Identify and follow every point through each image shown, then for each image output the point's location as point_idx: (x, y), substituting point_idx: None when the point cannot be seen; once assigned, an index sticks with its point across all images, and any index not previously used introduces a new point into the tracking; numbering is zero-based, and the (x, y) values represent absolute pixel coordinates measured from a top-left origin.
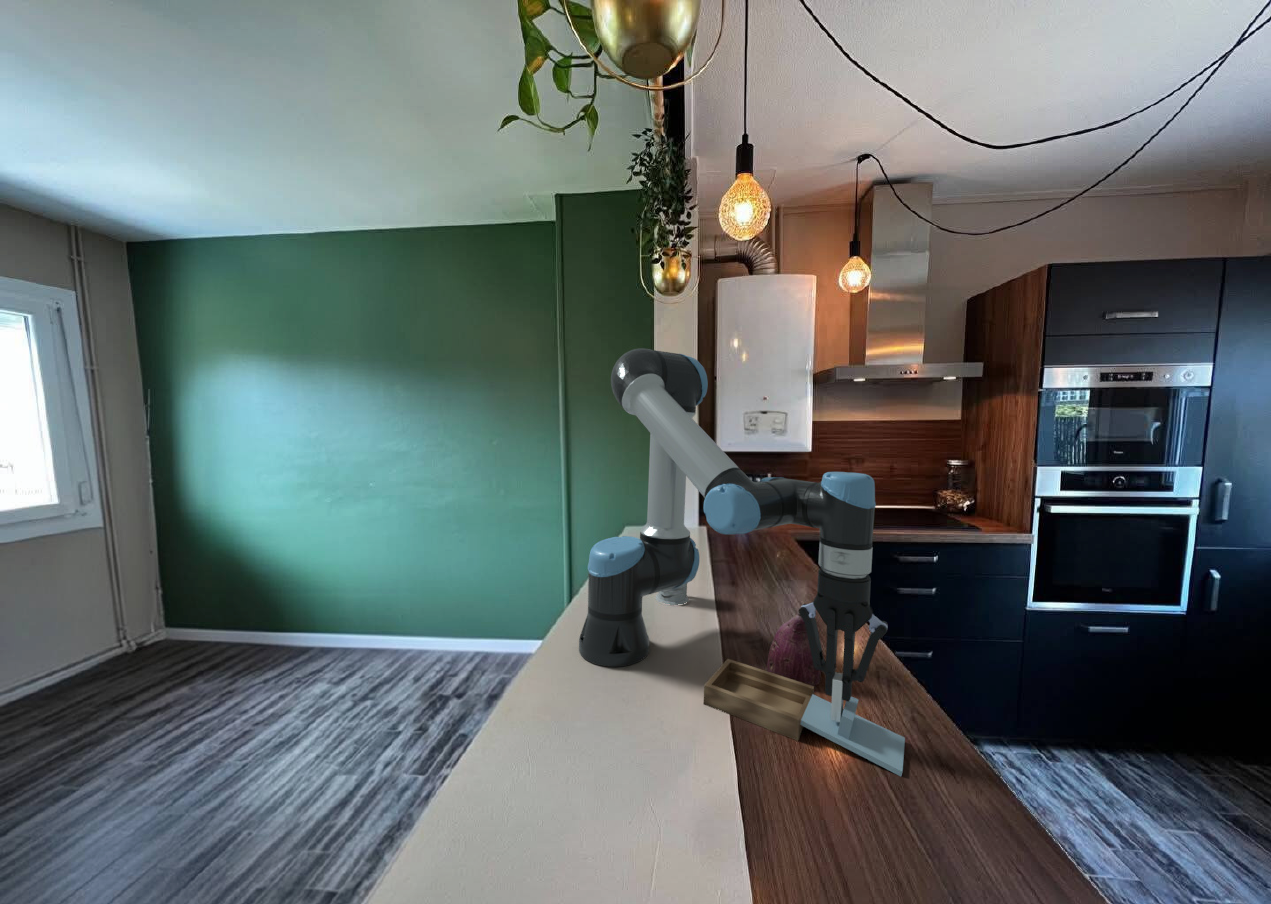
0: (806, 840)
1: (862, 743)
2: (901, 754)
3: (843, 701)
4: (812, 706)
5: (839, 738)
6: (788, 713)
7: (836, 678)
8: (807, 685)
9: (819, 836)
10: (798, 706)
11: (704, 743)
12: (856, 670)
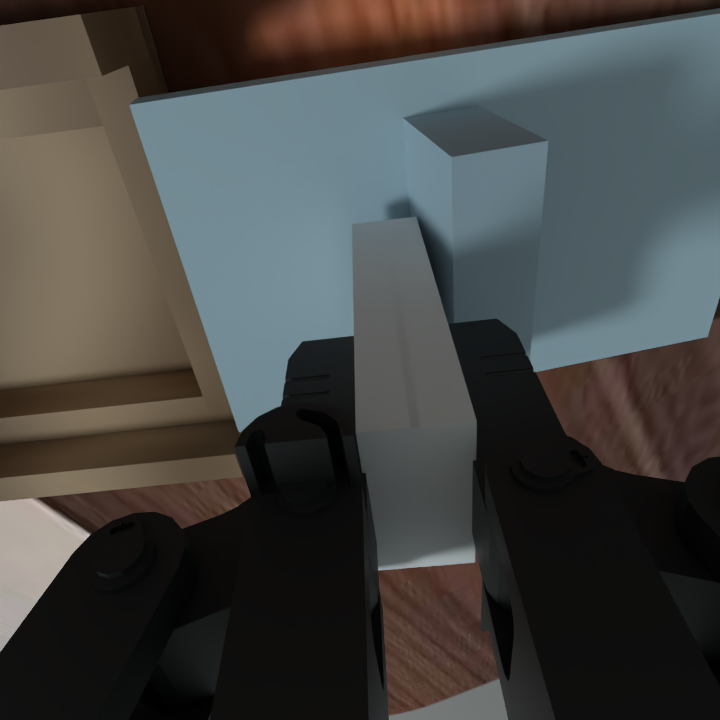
0: (426, 641)
1: (540, 318)
2: None
3: (428, 261)
4: (216, 265)
5: None
6: (173, 468)
7: (407, 541)
8: (27, 46)
9: (449, 624)
10: (102, 165)
11: (38, 581)
12: (689, 614)
